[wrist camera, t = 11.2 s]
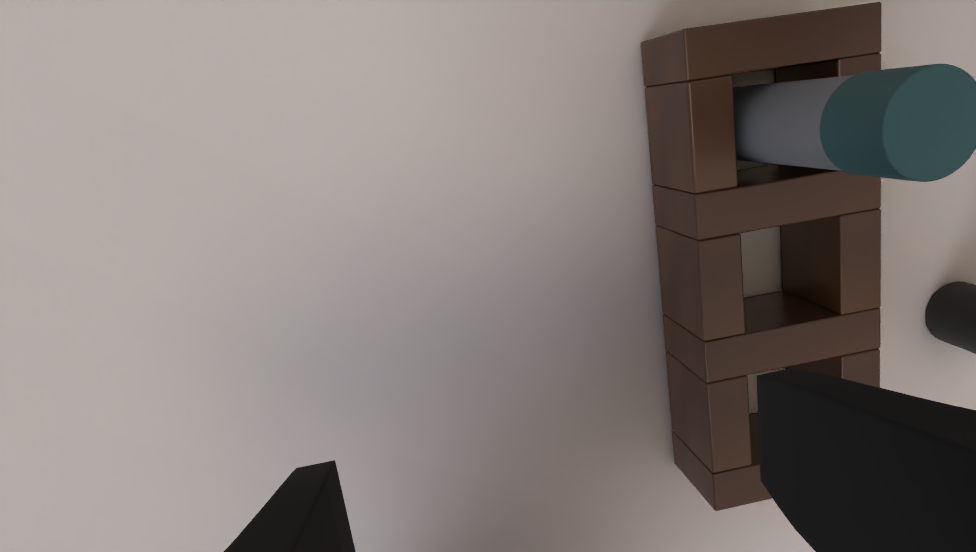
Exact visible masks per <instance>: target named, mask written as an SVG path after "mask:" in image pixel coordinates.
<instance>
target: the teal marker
mask: <svg viewBox="0 0 976 552" xmlns="http://www.w3.org/2000/svg"><path fill="white" fill-rule="evenodd" d="M733 101H734V121H735V141H736V160H743V161H752V162H762V163H771V164H781V165H790V166H800V167H809V168H819V169H828V170H838V171H844V172H847V173H850V174H855V175H864V176H873V177H882V178H891V179H900V180H909V181H919V182H928V181H934V180H938V179H941V178H944V177H946V176H948V175H950V174H952V173H953V172H955V171H956V170H957V169H959V168H960V167H961V166H962V165H963V164H964V163H965V162H966V161H967V160H968V159H969V158H970V156H971V155H972V153H973V152H974V150H975V149H976V81H975V80H974V79H973V78H972V76H970V75H969V74H968V73H967V72H965V71H964V70H962V69H960V68H958V67H956V66H953V65H948V64H933V65H924V66H914V67H905V68H895V69H886V70H876V71H867V72H862V73H859V74H856V75H850V76H840V77H831V78H821V79H811V80H801V81H791V82H781V83H771V84H761V85H752V86H742V87H733Z"/></svg>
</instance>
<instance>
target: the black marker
mask: <svg viewBox="0 0 976 552" xmlns="http://www.w3.org/2000/svg"><path fill="white" fill-rule="evenodd" d="M926 323H927V327H928V329H929V331H930V332H931V334H932V335H933V336H935V337H936V338H938V339H940V340H942V341H945V342H947V343H950V344H952V345H955V346H957V347H960V348H963V349H965V350H968V351H970V352H973V353H975V354H976V285H973V284H970V283H966V282H954V283H950V284H948V285H946V286H944V287H942V288H941V289H940V290H939V291H937V292H936V294H935V295H934V296H933V297H932V299H931V301H930V303H929V305H928V308H927V312H926Z"/></svg>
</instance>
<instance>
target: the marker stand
mask: <svg viewBox="0 0 976 552" xmlns="http://www.w3.org/2000/svg"><path fill="white" fill-rule="evenodd" d="M641 51H642V64H643V76H644V86H645V87H646V88H645V96H646V108H647V120H648V133H649V145H650V157H651V170H652V182H653V184H655V185H653V198H654V210H655V223H656V225H657V226H656V234H657V246H658V258H659V271H660V283H661V295H662V308H663V313H664V314H663V322H664V334H665V346H666V350H667V351H666V356H667V368H668V380H669V393H670V405H671V417H672V429H673V432H672V433H673V445H674V457H675V464H676V465H677V466H678V468H679V469H680V470H681V471H682V472H683V474H684V475H685V476H686V477H687V478H688V479H689V481H690V482H691V483H692V484H693V485H694V486H695V488H696V489H697V490H698V491H699V492H700V493H701V495H702V496H703V497H704V498H705V499H706V500H707V502H708V503H709V504H710V505H711V506H712V507H713V509H714V510H715V511H718V510H722V509H727V508H731V507H736V506H740V505H744V504H749V503H753V502H758V501H762V500H767V499H771V498H772V497H771V495H770V494H769V492H768V491H767V489H766V488H765V486H764V485H763V483H762V482H761V481H760V453H759V424H758V413H756V414H751V415H749V401H748V381H747V376H746V375H749V374H754V373H758V372H763V371H768V370H773V369H778V368H783V367H786V370H787V369H796V370H804V371H810V372H815V373H820V374H825V375H829V376H834V377H838V378H842V379H846V380H850V381H854V382H858V383H862V384H866V385H870V386H874V387H878V388H880V350H879V348H880V308H879V307H880V278H881V210H880V209H878V208H880V207H881V177H873V176H864V175H855V174H850V173H847V172H844V171H838V170H828V169H819V168H809V167H800V166H790V165H781V164H776V165H770V166H764V167H758V168H752V169H746V170H740V171H737V161H736V141H735V121H734V101H733V80H732V76H731V75H732V74H738V73H745V72H752V71H759V70H765V69H772V68H776V83H781V82H791V81H801V80H811V79H821V78H831V77H840V76H850V75H856V74H859V73H862V72H867V71H876V70H881V54H880V53H879V52H881V3H880V2H876V3H869V4H862V5H854V6H847V7H840V8H832V9H825V10H818V11H811V12H803V13H796V14H789V15H782V16H774V17H767V18H760V19H753V20H745V21H738V22H731V23H724V24H716V25H709V26H702V27H694V28H687V29H683V30H679V31H676V32H673V33H670V34H667V35H663V36H660V37H657V38H654V39H650V40H647V41H644V42H642V43H641ZM777 226H781V244H782V273H783V290H784V291H782V292H776V293H771V294H766V295H761V296H755V297H750V298H745V299H744V297H743V277H742V257H741V237H740V234H739V233H743V232H748V231H754V230H760V229H765V228H771V227H777Z"/></svg>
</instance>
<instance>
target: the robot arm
mask: <svg viewBox="0 0 976 552" xmlns="http://www.w3.org/2000/svg"><path fill="white" fill-rule="evenodd" d="M757 395H758V424H759V453H760V481H761V482H762V483H763V485H764V486H765V488H766V489H767V491H768V492H769V494H770V495H771V497H772V498H773V499H774V501H775V502H776V504H777V505H778V507H779V508H780V509H781V511H782V512H783V513H784V515H785V516H786V517H787V519H788V520H789V522H790V523H791V524H792V526H793V527H794V528H795V529H796V531H797V532H798V533H799V534H800V535H801V536H802V537H803V538H804V539H805V540H806V542H807V543H808V544H809V545H810V546H811V547H812V548H813V549H814V550H815V551H816V552H976V410H971V409H967V408H962V407H957V406H953V405H948V404H944V403H940V402H935V401H931V400H927V399H923V398H919V397H914V396H910V395H906V394H902V393H898V392H894V391H890V390H886V389H882V388H878V387H874V386H870V385H866V384H862V383H858V382H854V381H850V380H846V379H842V378H838V377H834V376H829V375H825V374H820V373H815V372H810V371H804V370H796V369H787V370H782V371H777V372H772V373H767V374H762V375H757ZM224 552H355V548H354V543H353V539H352V534H351V530H350V525H349V521H348V517H347V512H346V508H345V503H344V499H343V494H342V490H341V485H340V481H339V476H338V472H337V468H336V463H335V460H334V461H329V462H325V463H320V464H315V465H310V466H305V467H300V468H296V469H295V470H294V471H293V472H292V473H291V475H290V476H289V477H288V478H287V479H286V480H285V481H284V483H283V484H282V485H281V486H280V487H279V489H278V490H277V491H276V492H275V493H274V495H273V496H272V497H271V498H270V499H269V501H268V502H267V503H266V504H265V505H264V507H263V508H262V509H261V510H260V511H259V513H258V514H257V515H256V516H255V517H254V518H253V519H252V521H251V522H250V523H249V524H248V525H247V526H246V528H245V529H244V530H243V531H242V532H241V533H240V535H239V536H238V537H237V538H236V539H235V540H234V541H233V542H232V544H231V545H230V546H229V547H228V548H227V549H226V550H225V551H224Z"/></svg>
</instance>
